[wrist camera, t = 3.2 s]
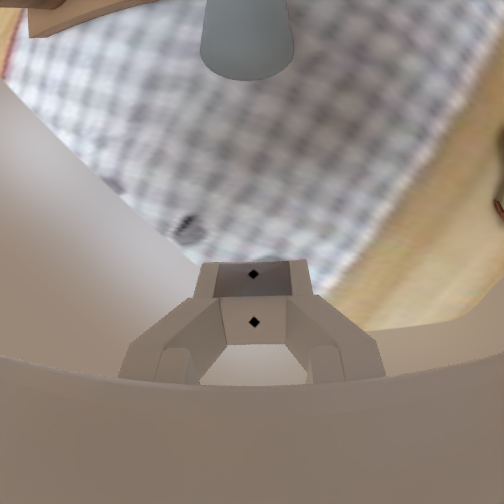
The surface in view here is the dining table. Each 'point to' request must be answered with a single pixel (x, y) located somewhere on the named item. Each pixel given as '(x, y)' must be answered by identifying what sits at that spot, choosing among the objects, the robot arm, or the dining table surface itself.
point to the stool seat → (65, 12)
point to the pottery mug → (500, 209)
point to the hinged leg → (246, 38)
